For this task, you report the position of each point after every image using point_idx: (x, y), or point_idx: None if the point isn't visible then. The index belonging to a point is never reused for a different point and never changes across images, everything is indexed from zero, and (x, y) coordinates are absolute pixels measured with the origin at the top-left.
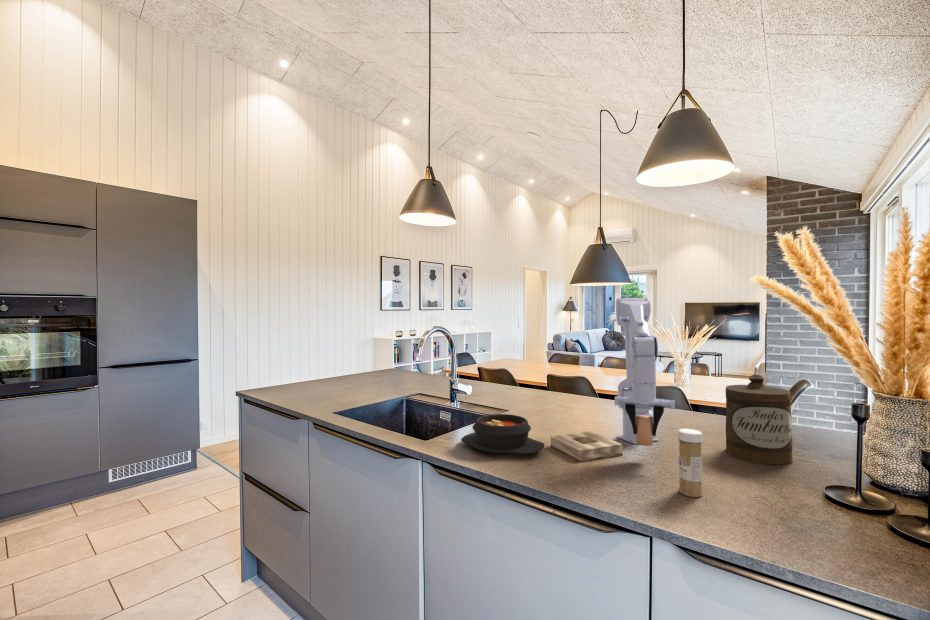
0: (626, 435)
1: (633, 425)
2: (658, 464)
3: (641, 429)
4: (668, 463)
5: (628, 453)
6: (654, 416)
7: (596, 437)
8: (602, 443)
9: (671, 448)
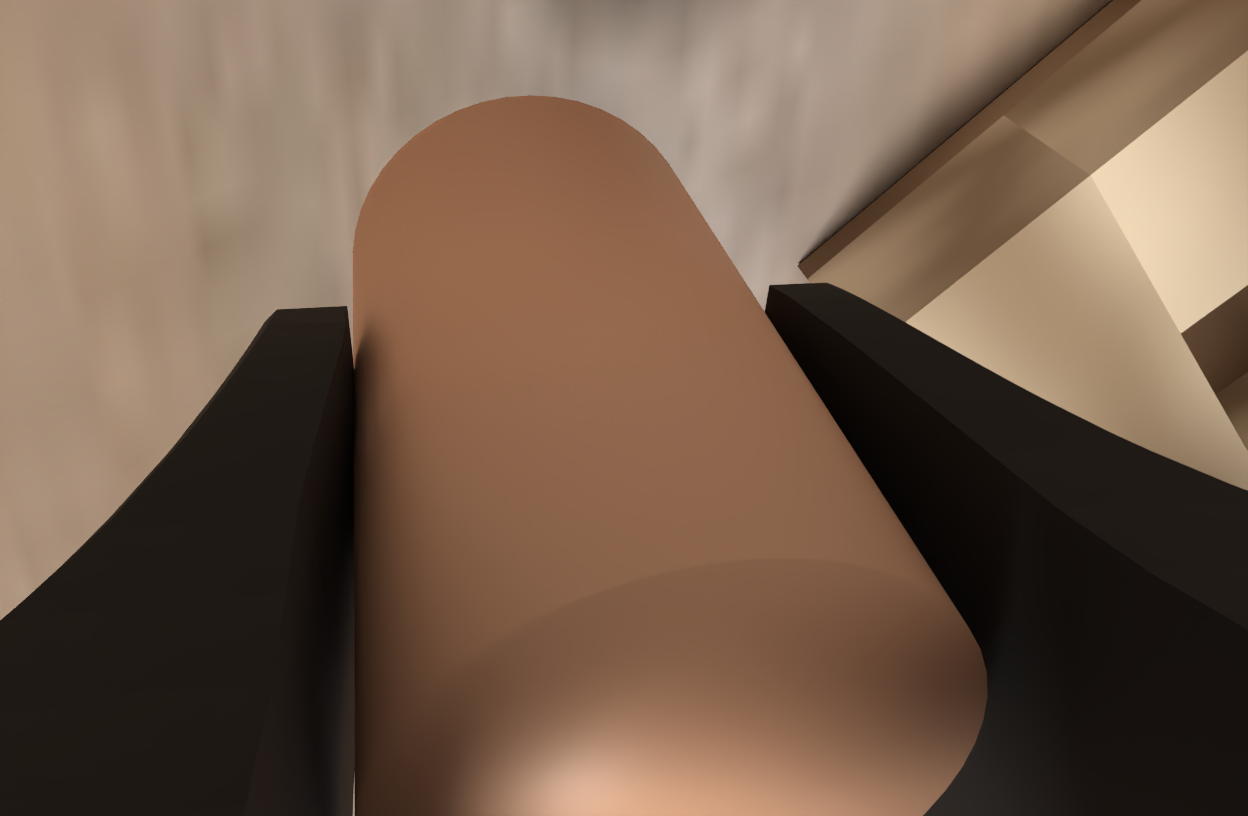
0: None
1: (958, 378)
2: (256, 46)
3: (698, 292)
4: (103, 170)
5: None
6: (187, 746)
7: None
8: (1169, 266)
9: None
